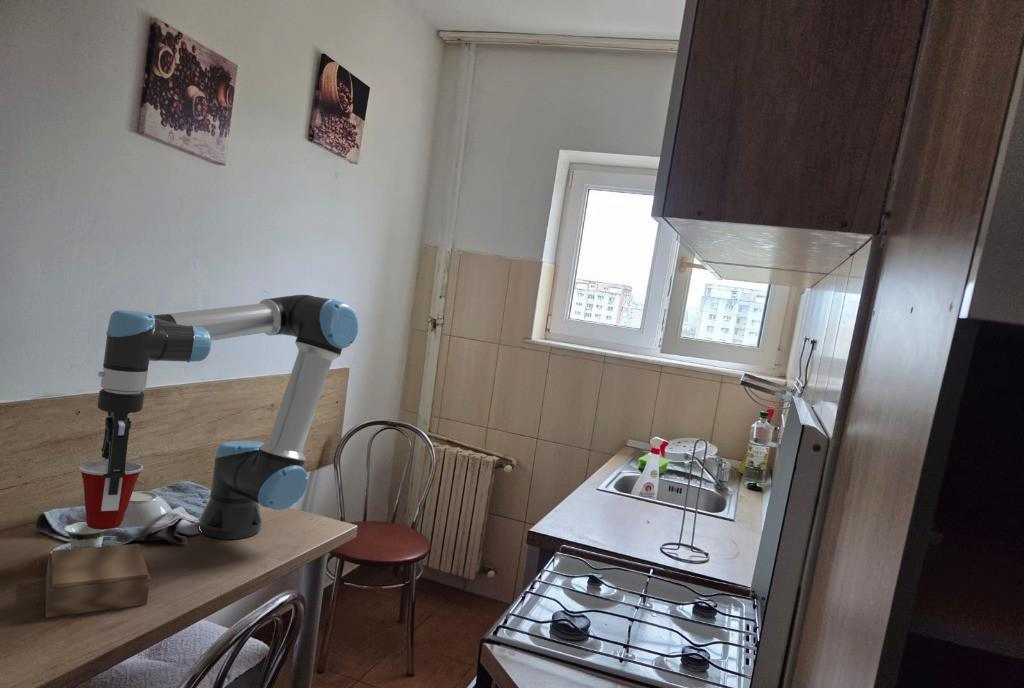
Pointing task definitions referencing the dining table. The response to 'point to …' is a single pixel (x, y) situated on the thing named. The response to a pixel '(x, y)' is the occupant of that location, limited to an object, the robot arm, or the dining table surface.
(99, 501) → the plastic cup
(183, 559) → the dining table surface
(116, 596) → the brown flat block
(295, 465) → the robot arm
